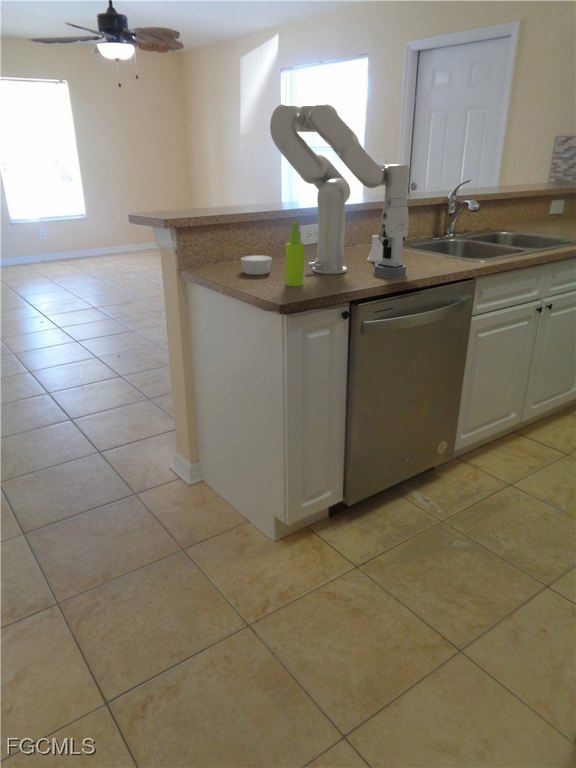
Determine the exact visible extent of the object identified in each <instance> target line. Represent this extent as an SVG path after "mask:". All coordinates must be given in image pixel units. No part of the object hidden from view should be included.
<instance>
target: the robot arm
mask: <svg viewBox="0 0 576 768" xmlns="http://www.w3.org/2000/svg"><path fill="white" fill-rule="evenodd" d="M269 131H270V135H271V138H272V141H273V143H274V145H275V147H276V149H278V151H279V153H281V154H282V156H283V157H284V158H285V159H286V161H287V162H288V163H289V164H290V165H291V167H292V168H293V169H294V170H295V171H296V173H297V174H298V175H299V177H301V179H302V180H303V181H304V182H305V183H306V184H310V185H314V187H316V189H317V190H318V192H317V214H318V215H317V249H316V250H317V251H316V252H317V253H316V254H317V255H316V258H314V261H313V262H312V261H311V262H310V261H309V262H307V263H306V267H307V268H308V269H311V268H312V271H313V272H315V273H318V274H324V275H337V274H344V273H347V271H348V268H347V266H344V252H345V250H344V249H345V226H346V203H347V201H348V200H349V199H350V196H351V186H350V185H349V183H348V181H347V180H346V179H345V177H343V175H342V174H341V173H340V172H339V171H338V169H337V168H336V167H335V166H334V165H333V163H332V162H331V161H330V160H329V159H328V158H327V157H325V156H324V155H321V154H317V153H316V152H315V151H314V150H313V149H312V148H311V147H310V145H308V143H307V142H306V141H305V140H304V139H303V137H302V136H300V135H299V133H301V132H302V133H317V134H318V135H319V137H320V138H321V139H322V140H323V141H324V142H325V143H326V144H327V145H328V146H329V147H330V148H331V149H332V151H333V152H334V153H335V154H336V155H337V156H338V158H339V159H340V160H341V161H342V162H343V164H344V165H345V166H346V167H347V169H348V170H349V172H351V173H352V174H353V175H354V176H355V178H356V179H357V180H358V181H359V182H360V183H361V184H362V185H363V186H364V187H366V188H368V189H374V188H378V187H384V198H383V199H384V201H383V209H382V211H381V212H382V213H381V216H380V228H379V234H378V235H379V236H378V240H379V241H381V243H382V246H384V248H383V258H387V259H390V258H391V247H390V245H391V241H392V239H393V238H395V232H396V231H397V232H399V231H400V232H402V231H403V242H404V241H405V240H406V238H407V237H408V236H409V225H410V224H409V223H410V221H409V218H410V217H409V209H408V206H407V203H408V191H409V177H410V167H409V165H408V164H404V163H394V164H393V163H392V164H391V163H390V164H385V163H379V162H377V163H376V162H375V161H374V160H373V158H372V157H371V156H370V155H369V153H367V152H366V151H365V149H364V148H363V147H362V144H361V143H360V141H359V138H358V136H357V135H356V134H355V132H354V131H353V130H352V129H351V128H350V127H349V126H348V125H347V124H346V123H345V121H344V120H342V118H341V117H340V116H339V114H338V112H337V110H336V109H335V107H333V106H332V105H331V104H328V103H325V102H321V103H317V104H315V105H309V104H308V105H307V104H303V105H300V104H299V105H297V104H293V103H289V102H288V103H287V102H285V103H281V104H279V105H278V106H277V107H275V108H274V110H273V112H272V114H271V118H270V123H269ZM388 237H389V238H388ZM387 239H388V242H387Z"/></svg>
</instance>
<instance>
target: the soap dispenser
mask: <svg viewBox="0 0 576 768" xmlns="http://www.w3.org/2000/svg"><path fill="white" fill-rule="evenodd" d="M291 225H292V229H291V232H289V242H287V243H285V285H286V286H289V287H290V286H291V287H298V286H299V287H300V286H303V285H304V262H305V261H304V259H305V257H304V256H305V252H304V251H305V244H304V243H303V242H301V232H299V231H298V227H299V221H298V220H292V221H291Z"/></svg>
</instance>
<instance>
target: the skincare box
mask: <svg viewBox="0 0 576 768" xmlns="http://www.w3.org/2000/svg"><path fill="white" fill-rule="evenodd" d="M388 238H389V237H388ZM387 242H388V239H387ZM403 245H404V241H403V231H402V232H400V231H399V232H397V231H396V232H395V238H393V239H392V241H391V245H390V247H391V258H390V259H387V258H383V248H384V246H383V247H382V264H383V265H388V266H394V267H396V266H401V265H402V264H403V262H402V261H403V247H404V246H403Z"/></svg>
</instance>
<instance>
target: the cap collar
mask: <svg viewBox="0 0 576 768" xmlns="http://www.w3.org/2000/svg"><path fill="white" fill-rule="evenodd" d="M406 271H407V266H406V264H404V263H402V265H401V266H396V267H394V266H388V265H383V264H382V262H381V263H374V270H373V273H372V275H373V276H374V275H375V276H374V277H377V278H381V277H382V278H383V279H401V278H402V277H403V278H405V277H407V274H406Z"/></svg>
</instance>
